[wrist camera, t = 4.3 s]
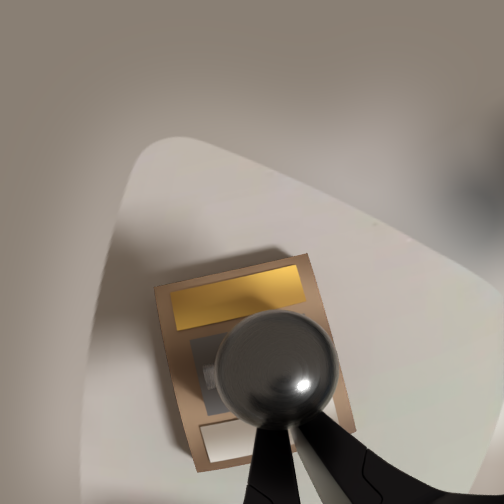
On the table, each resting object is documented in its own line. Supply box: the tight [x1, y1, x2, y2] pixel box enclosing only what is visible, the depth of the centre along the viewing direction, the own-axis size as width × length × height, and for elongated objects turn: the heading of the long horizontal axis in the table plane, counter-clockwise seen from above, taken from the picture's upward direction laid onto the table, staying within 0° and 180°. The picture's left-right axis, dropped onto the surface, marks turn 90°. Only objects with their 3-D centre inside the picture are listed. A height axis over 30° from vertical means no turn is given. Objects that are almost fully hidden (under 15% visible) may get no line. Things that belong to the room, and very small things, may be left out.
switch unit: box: [154, 253, 356, 473], centre depth 17 cm, size 12×10×5 cm
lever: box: [203, 309, 339, 431], centre depth 10 cm, size 3×5×9 cm, turn 104°
